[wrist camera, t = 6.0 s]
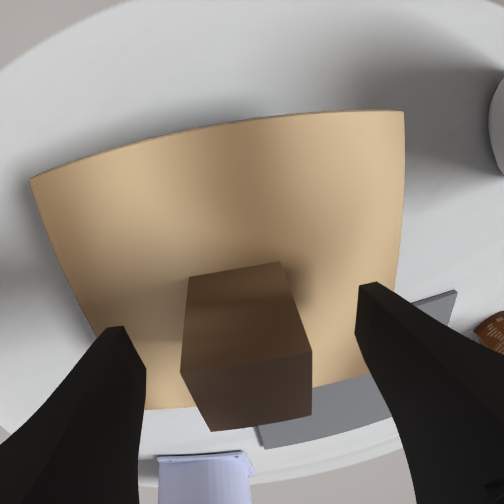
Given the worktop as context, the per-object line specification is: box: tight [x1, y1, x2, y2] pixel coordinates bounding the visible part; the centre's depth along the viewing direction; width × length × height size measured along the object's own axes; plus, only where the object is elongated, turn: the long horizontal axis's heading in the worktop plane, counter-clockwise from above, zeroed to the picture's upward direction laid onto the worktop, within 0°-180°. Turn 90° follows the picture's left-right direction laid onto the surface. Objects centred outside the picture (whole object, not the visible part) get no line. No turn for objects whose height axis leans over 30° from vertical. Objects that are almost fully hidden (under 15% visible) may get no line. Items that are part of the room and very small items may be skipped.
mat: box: [258, 290, 457, 449], centre depth 22 cm, size 16×16×1 cm
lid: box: [29, 109, 405, 432], centre depth 9 cm, size 12×12×5 cm
